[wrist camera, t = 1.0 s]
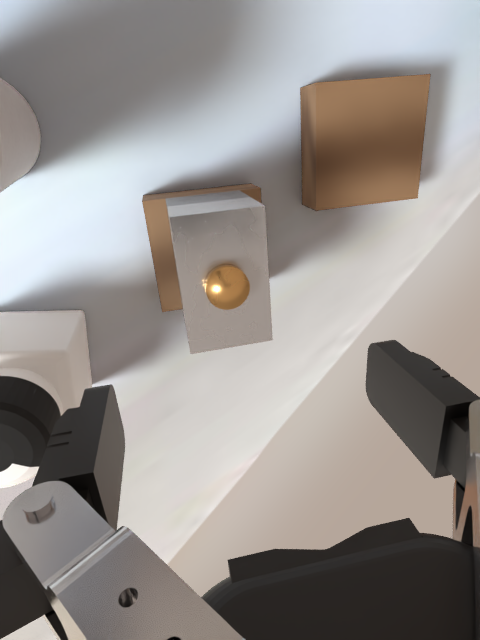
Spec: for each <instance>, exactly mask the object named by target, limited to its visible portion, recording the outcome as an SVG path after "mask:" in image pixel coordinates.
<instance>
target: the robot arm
mask: <svg viewBox="0 0 480 640" xmlns="http://www.w3.org/2000/svg"><path fill="white" fill-rule="evenodd" d="M366 392H367V396H368V398H369V401H370V403H371V404H372V406H373V407H374V408H375V409H376V410H377V411H378V412H379V414H380V415H381V416H382V417H383V418H384V420H385V421H386V422H387V423H388V424H389V426H390V427H391V428H392V429H393V430H394V432H395V433H397V435H398V436H399V437H400V439H401V440H402V441H403V442H404V443H405V445H406V446H407V447H408V448H409V449H410V450H411V451H412V453H413V454H414V455H415V456H416V457H417V459H418V460H419V461H420V462H421V463H422V464H423V466H424V467H425V468H426V469H427V470H428V472H429V473H430V474H431V475H432V476H433V478H438V477H443V476H448V475H453V477H454V478H455V483H454V489H453V539H451V538H448V537H444V536H439V535H434V534H427V533H419V532H418V530H417V529H416V527H415V526H414V524H413V523H412V521H411V520H410V518H406V519H402V520H398V521H394V522H389V523H385V524H380V525H376V526H372V527H368V528H365V529H364V530H362V531H360V532H358V533H356V534H355V535H353V536H351V537H349V538H347V539H345V540H344V541H342V542H340V543H338V544H336V545H335V546H333V547H331V548H329V549H325V550H304V549H301V550H300V549H273V550H268V551H264V552H260V553H256V554H251V555H247V556H243V557H238V558H234V559H230V560H228V565H229V573H230V577H228V578H226V579H225V580H223V581H221V582H220V583H218V584H217V585H215V586H214V587H212V588H211V589H210V590H209V591H208V592H207V593H206V594H204V595H203V597H200V596H199V595H197V593H196V592H195V591H194V590H193V589H192V588H191V587H190V586H188V585H187V584H186V583H185V582H184V581H183V580H182V579H181V578H180V577H179V576H178V575H177V574H176V573H175V572H174V571H173V570H172V569H171V568H170V567H169V566H168V565H167V564H166V563H165V562H164V561H163V560H161V559H160V558H159V557H158V556H157V555H156V554H155V553H154V552H153V551H152V550H151V549H150V548H149V547H148V546H147V545H146V544H145V543H144V542H143V541H142V540H141V539H140V538H139V537H138V536H137V535H135V534H134V533H133V532H132V531H131V530H130V529H129V528H127V527H125V526H122V527H120V528H119V529H118V530H117V521H118V511H119V501H120V491H121V482H122V472H123V462H124V452H125V437H124V430H123V425H122V421H121V416H120V412H119V408H118V403H117V399H116V395H115V391H114V388H113V386H112V385H105V386H99V387H93V388H87V389H85V390H84V393H83V397H82V400H81V403H80V407H76V408H70V409H67V410H66V411H65V412H64V413H63V414H62V416H61V417H60V418H59V419H58V420H57V421H56V422H55V425H54V428H53V431H52V433H51V437H50V439H49V442H48V444H47V448H46V450H45V452H44V455H43V458H42V461H41V463H40V466H39V469H38V472H37V474H36V477H35V480H34V482H33V485H32V487H31V488H29V489H27V490H25V491H24V492H23V493H21V494H20V495H19V496H17V497H16V498H15V499H14V500H13V501H12V502H11V503H10V505H9V506H8V507H7V509H6V511H5V513H4V515H3V520H1V521H0V639H1V638H3V637H5V636H7V635H8V634H10V633H12V632H14V631H16V630H18V629H19V628H21V627H23V626H25V625H27V624H28V623H30V622H32V621H34V620H36V619H38V618H39V617H41V616H43V617H44V619H45V621H46V622H47V624H48V625H49V627H50V628H51V630H52V632H53V633H54V635H55V636H56V638H57V640H480V397H478V396H477V395H476V394H474V393H473V392H472V391H470V390H469V389H468V388H466V387H465V386H464V385H463V384H461V383H460V382H458V381H457V380H456V379H455V378H454V377H450V375H449V374H448V373H447V372H446V371H444V370H443V369H442V370H441V368H440V367H439V366H438V365H436V364H435V363H434V362H433V361H431V360H430V359H428V358H426V357H424V356H421V355H418V354H416V353H414V352H410V351H409V350H407V349H406V348H405V347H404V346H402V345H401V344H400V343H399V342H397V341H396V340H390V341H384V342H377V343H372V344H370V346H369V348H368V358H367V373H366ZM116 530H117V531H116Z"/></svg>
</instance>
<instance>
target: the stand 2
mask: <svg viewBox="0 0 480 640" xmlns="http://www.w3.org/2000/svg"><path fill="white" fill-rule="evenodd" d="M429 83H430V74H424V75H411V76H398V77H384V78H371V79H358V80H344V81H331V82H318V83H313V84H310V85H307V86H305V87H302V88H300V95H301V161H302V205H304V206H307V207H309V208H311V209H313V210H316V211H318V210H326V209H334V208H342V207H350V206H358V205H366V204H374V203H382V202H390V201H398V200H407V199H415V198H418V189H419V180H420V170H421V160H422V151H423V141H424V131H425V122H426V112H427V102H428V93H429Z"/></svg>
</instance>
